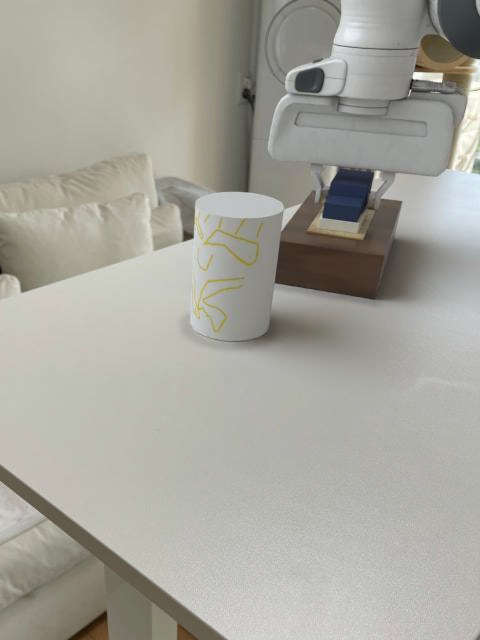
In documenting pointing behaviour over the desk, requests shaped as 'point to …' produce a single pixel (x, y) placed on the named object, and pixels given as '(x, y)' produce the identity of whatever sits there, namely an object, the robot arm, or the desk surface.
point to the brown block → (336, 250)
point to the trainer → (346, 201)
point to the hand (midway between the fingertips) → (346, 205)
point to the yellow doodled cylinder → (234, 264)
